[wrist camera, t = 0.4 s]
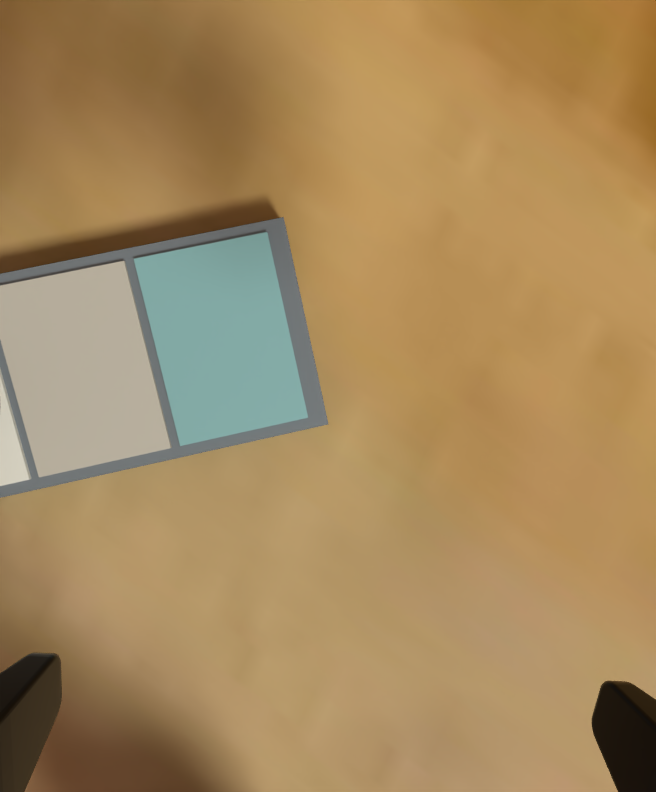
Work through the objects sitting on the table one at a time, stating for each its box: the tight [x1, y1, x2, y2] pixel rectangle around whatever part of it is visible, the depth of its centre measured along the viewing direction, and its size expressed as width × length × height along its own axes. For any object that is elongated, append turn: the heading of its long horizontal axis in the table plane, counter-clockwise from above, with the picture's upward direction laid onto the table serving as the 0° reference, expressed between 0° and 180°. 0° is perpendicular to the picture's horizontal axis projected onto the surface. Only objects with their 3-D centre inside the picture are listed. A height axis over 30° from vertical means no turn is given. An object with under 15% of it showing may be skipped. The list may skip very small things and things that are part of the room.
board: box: [0, 217, 328, 498], centre depth 20 cm, size 19×9×1 cm, turn 102°
